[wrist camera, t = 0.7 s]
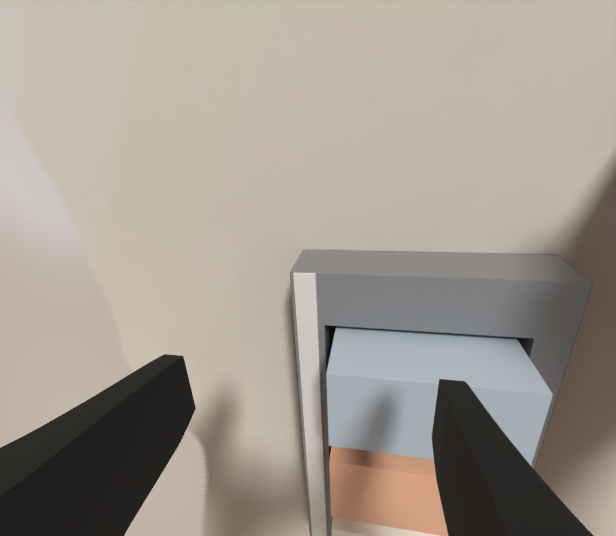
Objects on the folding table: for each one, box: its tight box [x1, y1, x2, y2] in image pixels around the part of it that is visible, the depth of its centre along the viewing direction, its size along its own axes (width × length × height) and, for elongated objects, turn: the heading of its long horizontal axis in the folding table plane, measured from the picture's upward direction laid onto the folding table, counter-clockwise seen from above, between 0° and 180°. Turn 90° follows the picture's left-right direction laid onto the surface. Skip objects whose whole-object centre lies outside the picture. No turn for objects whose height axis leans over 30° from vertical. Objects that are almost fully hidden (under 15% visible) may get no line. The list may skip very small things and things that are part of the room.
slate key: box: [326, 326, 553, 465], centre depth 15 cm, size 8×4×4 cm, turn 92°
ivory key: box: [332, 517, 439, 536], centre depth 19 cm, size 8×4×4 cm, turn 92°
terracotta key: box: [329, 446, 448, 536], centre depth 17 cm, size 8×4×4 cm, turn 92°
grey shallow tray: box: [290, 250, 593, 536], centre depth 19 cm, size 12×20×3 cm, turn 2°
